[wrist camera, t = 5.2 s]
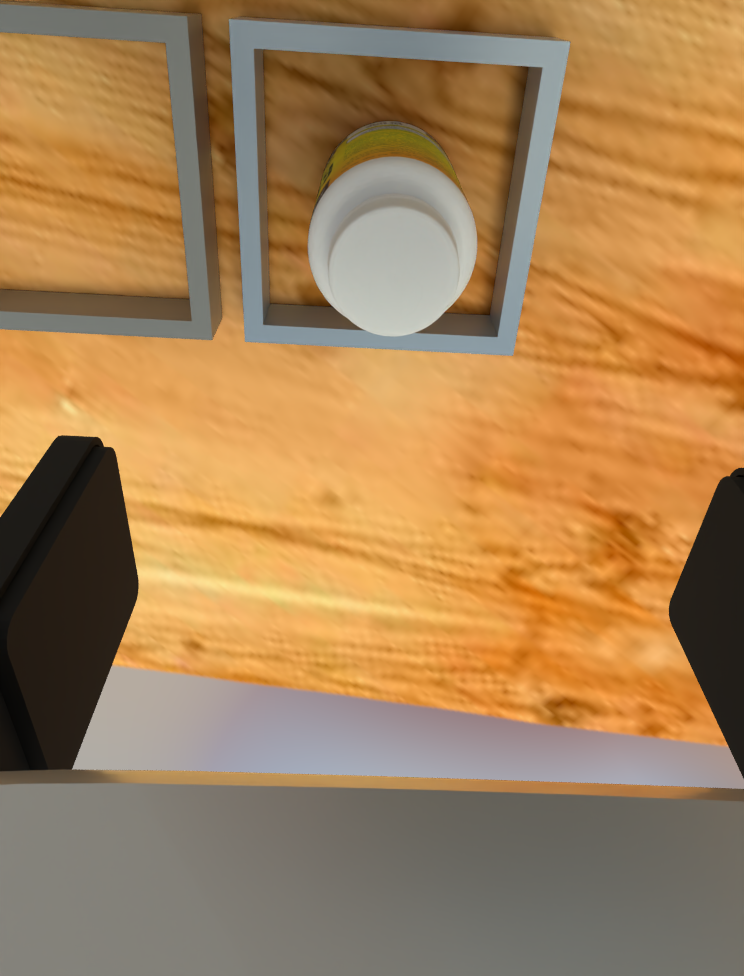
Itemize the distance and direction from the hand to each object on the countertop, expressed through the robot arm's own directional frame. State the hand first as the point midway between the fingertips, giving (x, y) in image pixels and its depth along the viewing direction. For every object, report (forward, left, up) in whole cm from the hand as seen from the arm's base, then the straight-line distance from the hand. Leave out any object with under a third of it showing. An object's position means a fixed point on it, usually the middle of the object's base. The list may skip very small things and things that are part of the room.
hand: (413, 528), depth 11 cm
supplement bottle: (0, 0, -22) cm, 22 cm away
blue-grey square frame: (0, 0, -22) cm, 22 cm away
